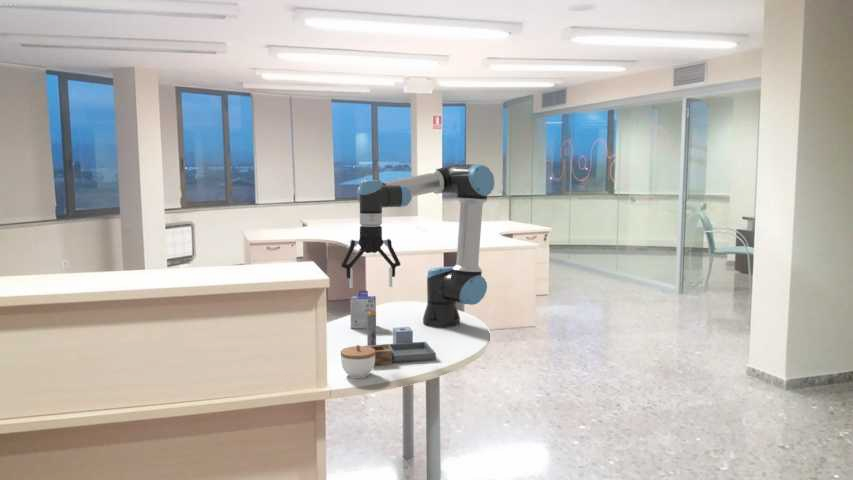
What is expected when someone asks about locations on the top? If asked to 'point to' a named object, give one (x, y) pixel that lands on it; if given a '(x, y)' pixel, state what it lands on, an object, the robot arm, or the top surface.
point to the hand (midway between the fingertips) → (370, 287)
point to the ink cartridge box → (361, 309)
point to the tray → (411, 352)
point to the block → (402, 335)
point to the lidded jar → (358, 360)
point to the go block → (382, 354)
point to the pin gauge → (371, 327)
